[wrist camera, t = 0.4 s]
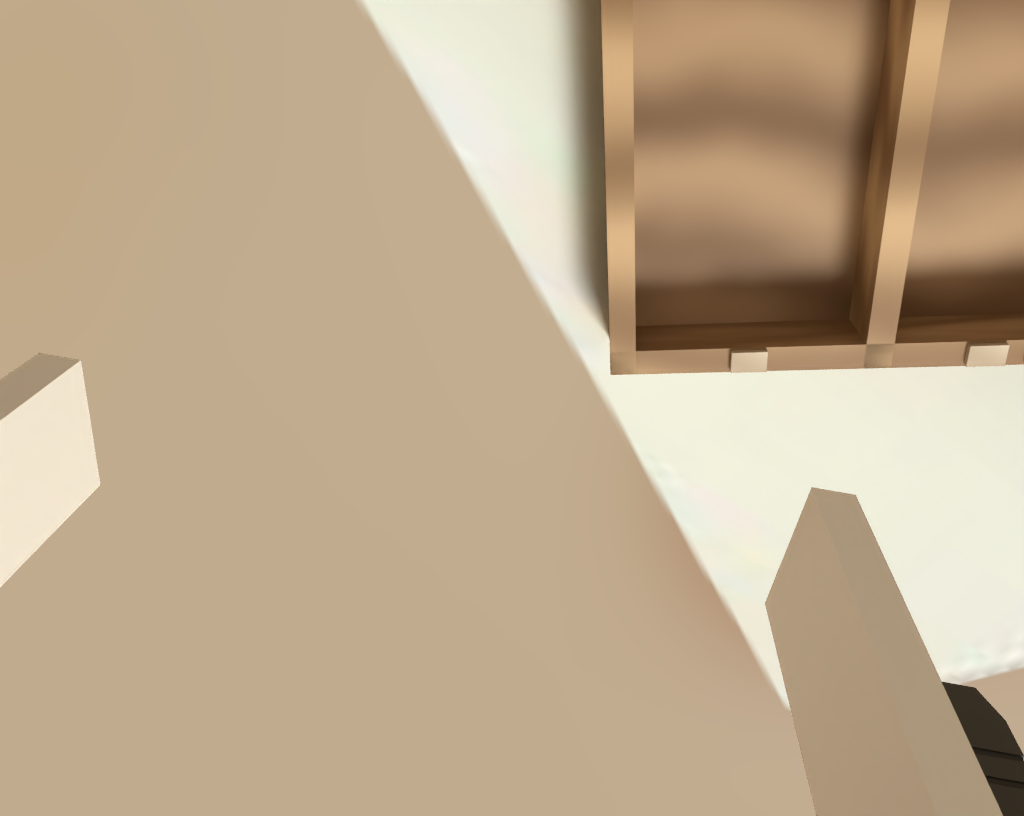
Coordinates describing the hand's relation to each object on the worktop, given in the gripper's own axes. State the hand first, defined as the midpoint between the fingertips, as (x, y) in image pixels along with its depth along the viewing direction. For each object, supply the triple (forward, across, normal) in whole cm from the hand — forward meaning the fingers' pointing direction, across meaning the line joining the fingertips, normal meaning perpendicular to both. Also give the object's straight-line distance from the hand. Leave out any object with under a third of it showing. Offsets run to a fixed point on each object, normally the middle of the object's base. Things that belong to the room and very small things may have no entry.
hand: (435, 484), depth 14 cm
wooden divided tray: (+26, +14, +4) cm, 30 cm away
